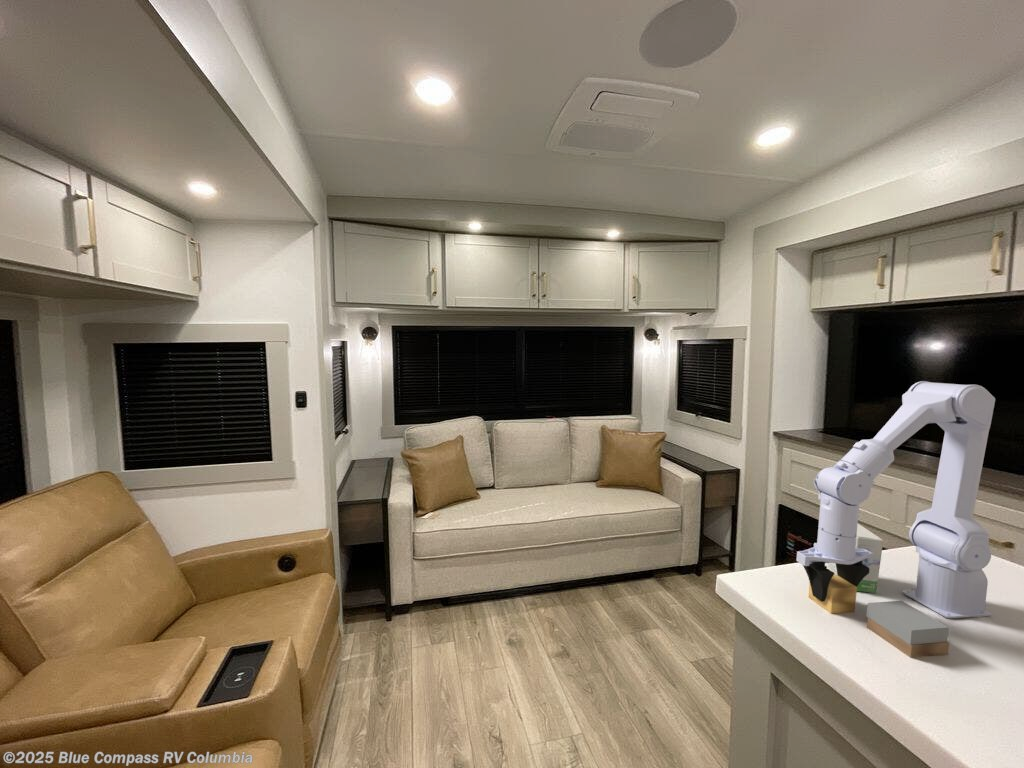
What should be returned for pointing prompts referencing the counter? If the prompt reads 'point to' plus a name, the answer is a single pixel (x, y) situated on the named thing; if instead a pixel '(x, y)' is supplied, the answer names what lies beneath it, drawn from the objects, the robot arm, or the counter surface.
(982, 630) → the counter surface
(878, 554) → the ink box
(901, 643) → the walnut slab
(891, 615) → the slate-grey slab
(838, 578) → the ochre cube
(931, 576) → the robot arm
